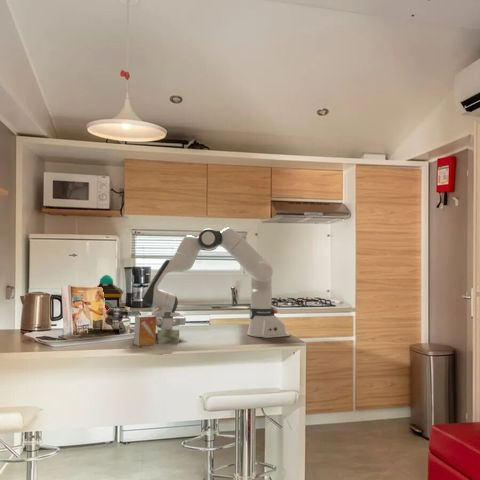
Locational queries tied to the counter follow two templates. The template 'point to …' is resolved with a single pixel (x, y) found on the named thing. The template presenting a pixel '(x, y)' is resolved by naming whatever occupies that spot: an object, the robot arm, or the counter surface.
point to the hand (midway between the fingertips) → (167, 323)
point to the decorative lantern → (111, 292)
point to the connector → (167, 321)
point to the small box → (145, 330)
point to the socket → (167, 336)
